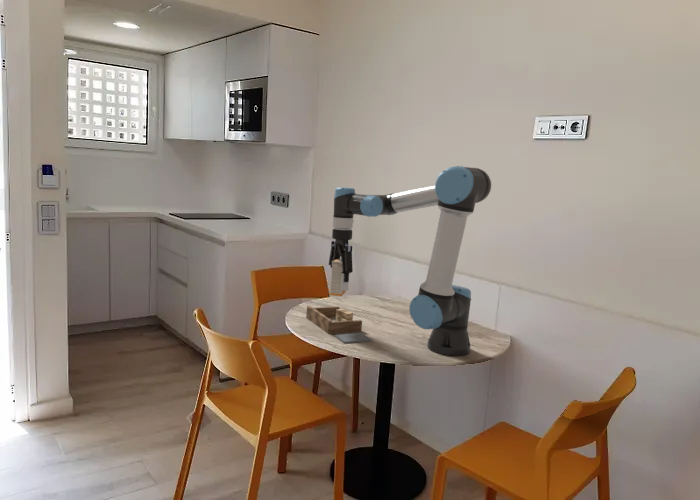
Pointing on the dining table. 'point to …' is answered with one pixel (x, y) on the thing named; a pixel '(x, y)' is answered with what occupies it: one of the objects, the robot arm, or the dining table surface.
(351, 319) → the offcut lower
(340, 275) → the supplement box
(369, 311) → the dining table surface
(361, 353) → the dining table surface
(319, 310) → the wooden tray
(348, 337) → the mat
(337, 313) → the offcut upper
